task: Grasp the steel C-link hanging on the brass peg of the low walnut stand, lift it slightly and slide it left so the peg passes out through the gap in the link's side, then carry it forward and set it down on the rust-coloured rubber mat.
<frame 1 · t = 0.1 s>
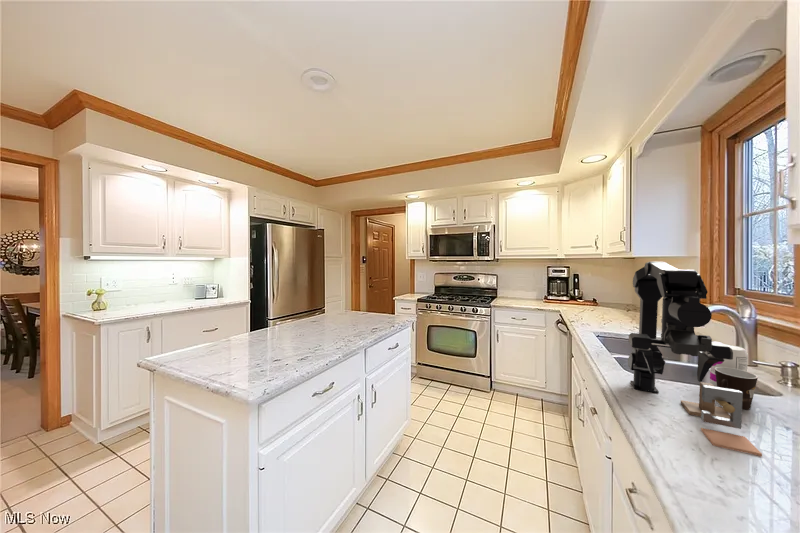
hand: (674, 377, 75), 15 cm above the countertop, fingers open, 9 cm apart
supplement can: (727, 391, 98), on the countertop
mat: (729, 442, 72), on the countertop
link: (720, 423, 77), point 2 cm above the countertop, touching stand
stand: (706, 413, 84), on the countertop
coffee mug: (728, 404, 89), on the countertop
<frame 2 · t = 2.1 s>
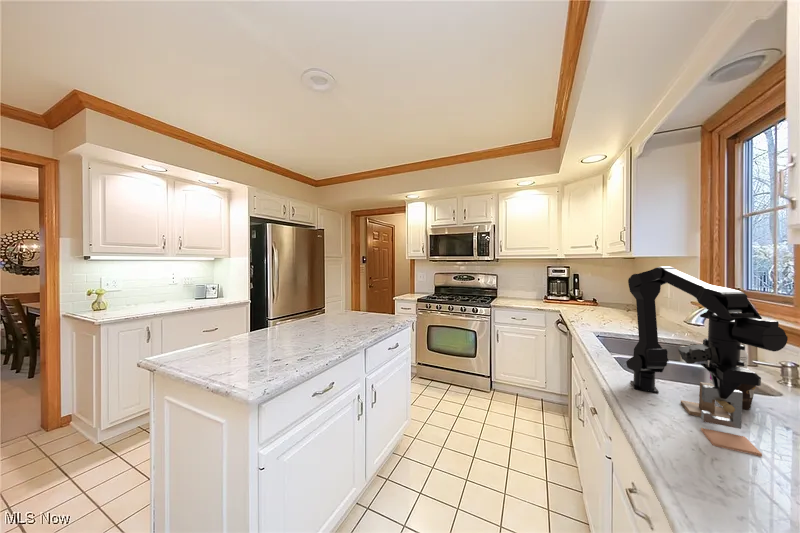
hand: (721, 396, 76), 9 cm above the countertop, fingers closed on link, 1 cm apart
link: (720, 423, 77), point 2 cm above the countertop, touching gripper, stand
everything else where it was.
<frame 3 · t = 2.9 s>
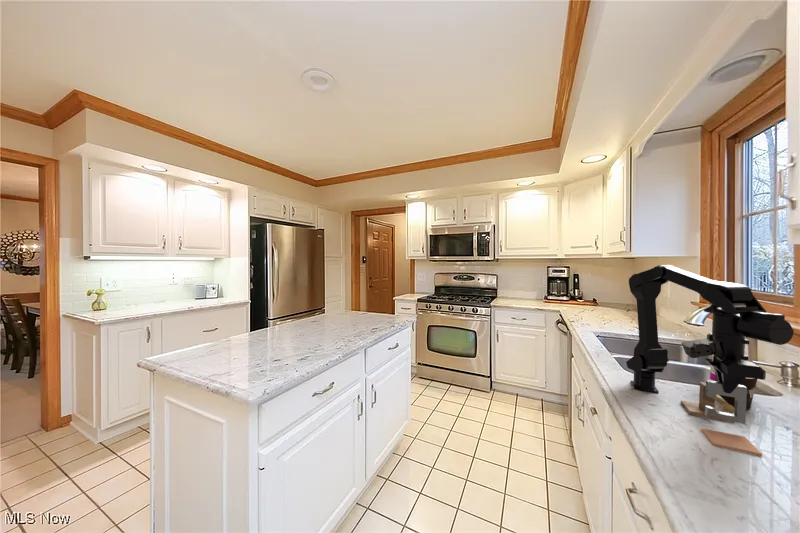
hand: (725, 391, 76), 11 cm above the countertop, fingers closed on link, 1 cm apart
link: (724, 419, 76), point 3 cm above the countertop, touching gripper
everything else where it was.
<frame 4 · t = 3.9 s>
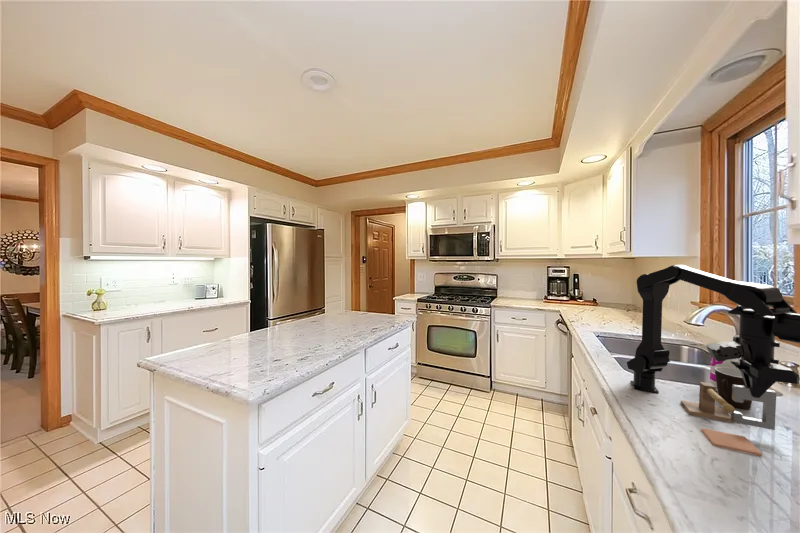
hand: (753, 395, 73), 11 cm above the countertop, fingers closed on link, 1 cm apart
link: (752, 424, 74), point 3 cm above the countertop, touching gripper
everything else where it was.
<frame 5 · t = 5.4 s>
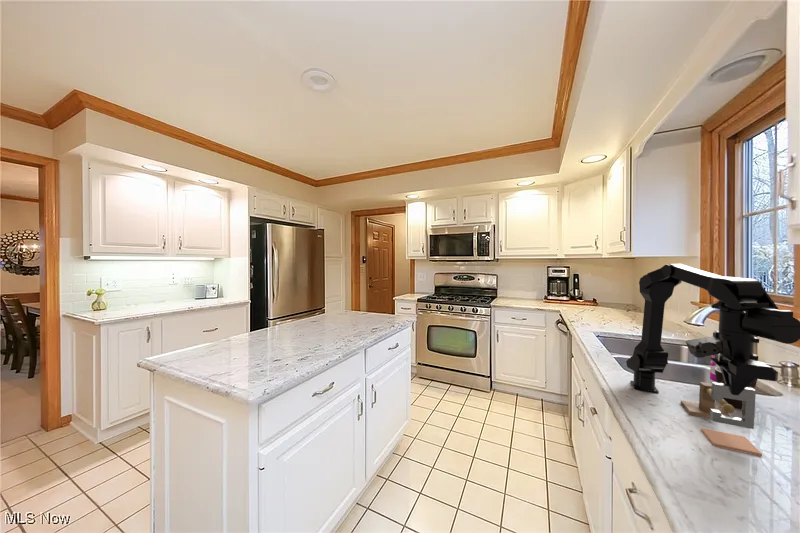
hand: (732, 393, 71), 12 cm above the countertop, fingers closed on link
link: (731, 423, 71), point 5 cm above the countertop, touching gripper
everything else where it was.
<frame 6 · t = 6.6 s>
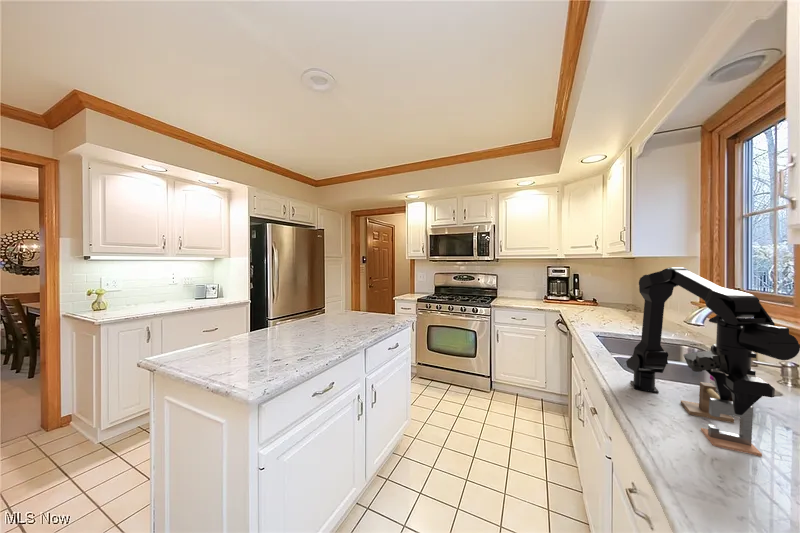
hand: (730, 407, 71), 9 cm above the countertop, fingers open, 7 cm apart
link: (728, 439, 72), point 1 cm above the countertop, touching mat
everything else where it was.
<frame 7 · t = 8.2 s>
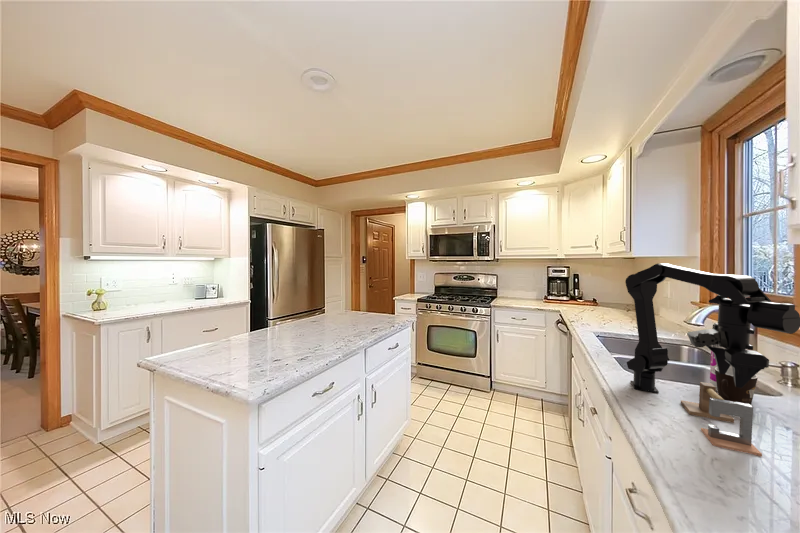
hand: (729, 380, 78), 13 cm above the countertop, fingers open, 9 cm apart
nothing on the countertop moved.
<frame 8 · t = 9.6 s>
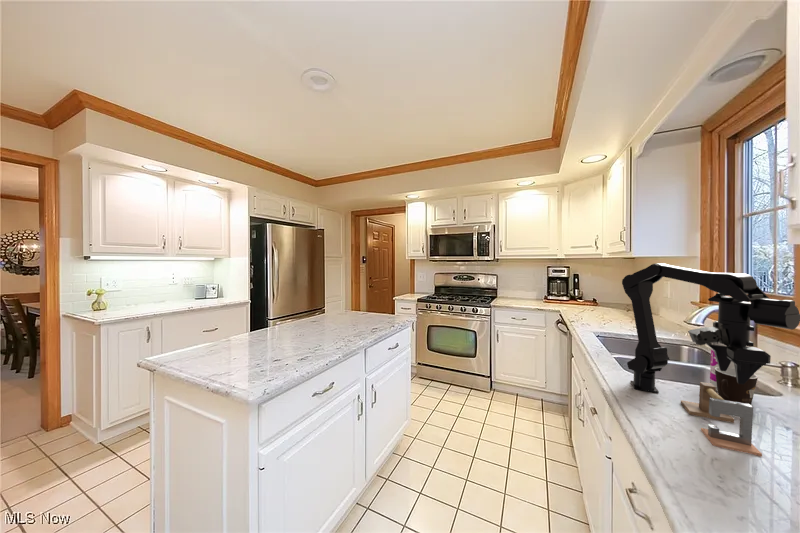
hand: (731, 376, 79), 13 cm above the countertop, fingers open, 9 cm apart
nothing on the countertop moved.
at the end: link inside the target area on the mat (0.1 cm from its centre), point 0.6 cm above the mat's base; link touching mat; the gripper is holding nothing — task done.
